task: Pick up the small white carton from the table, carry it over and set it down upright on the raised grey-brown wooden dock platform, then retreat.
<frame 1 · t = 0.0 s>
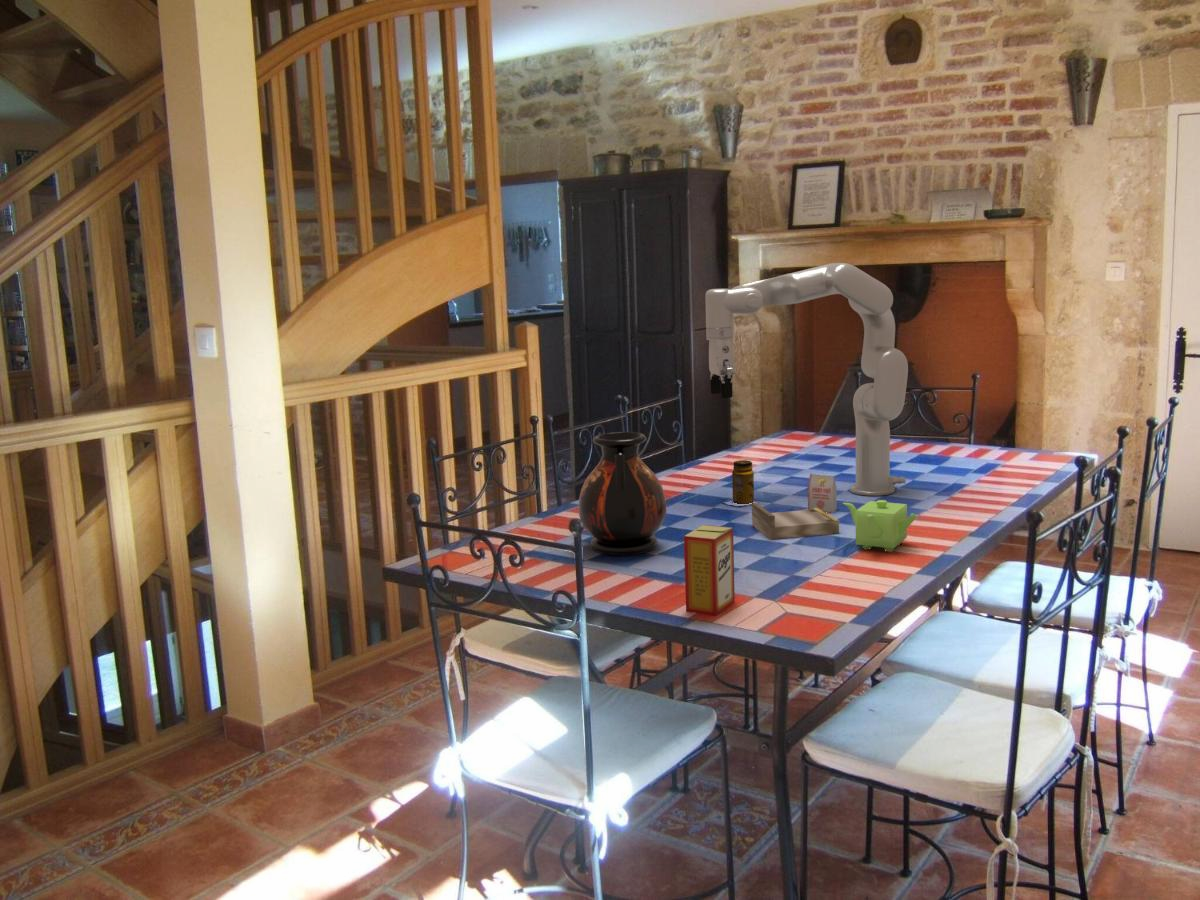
hand: (721, 395, 290), 31 cm above the table, tool pointing down, fingers open, 9 cm apart
kettle: (878, 547, 248), on the table
small white carton: (822, 511, 284), on the table
amphora vase: (624, 548, 257), on the table
dock: (794, 529, 266), on the table
condiment: (740, 504, 296), on the table
baking soda box: (710, 607, 211), on the table
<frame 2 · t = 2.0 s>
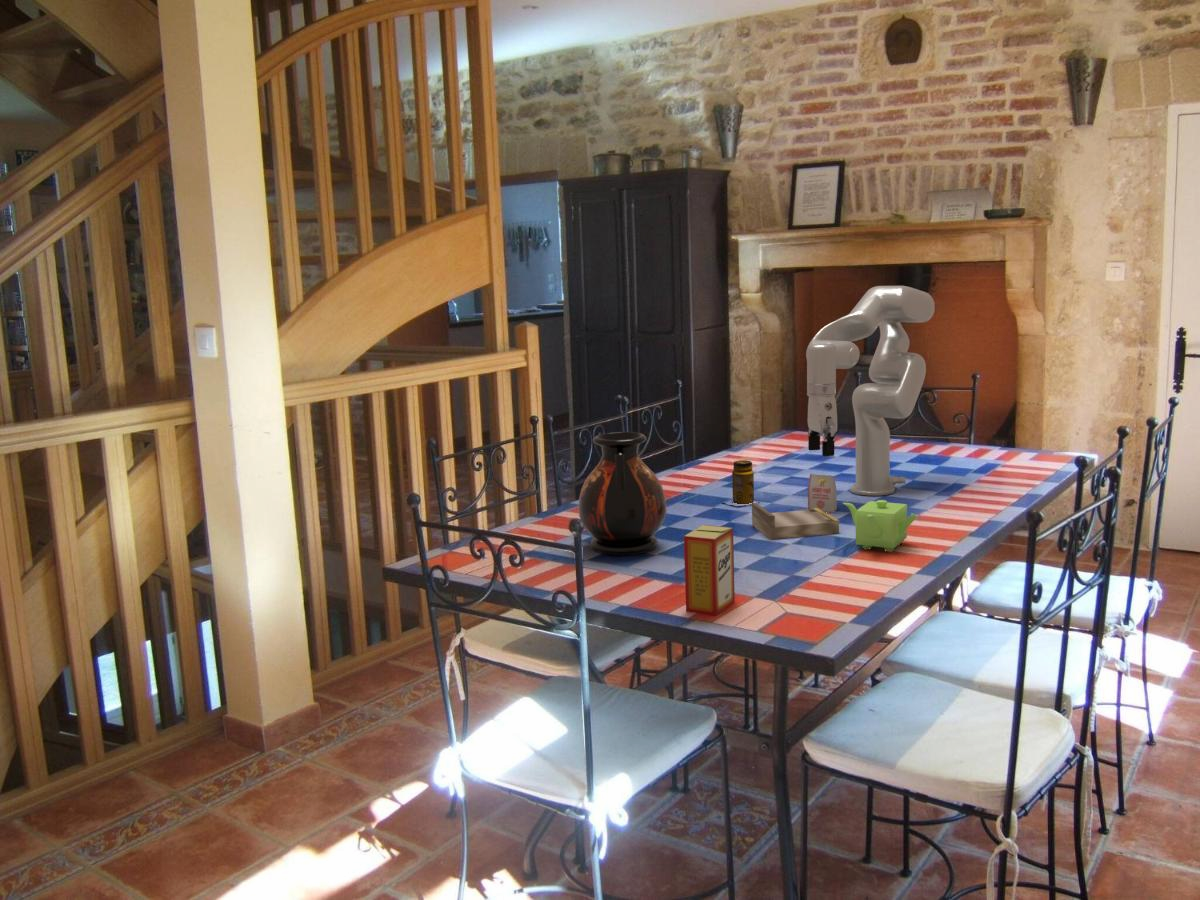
hand: (821, 452, 281), 16 cm above the table, tool pointing down, fingers open, 9 cm apart
nothing on the table moved.
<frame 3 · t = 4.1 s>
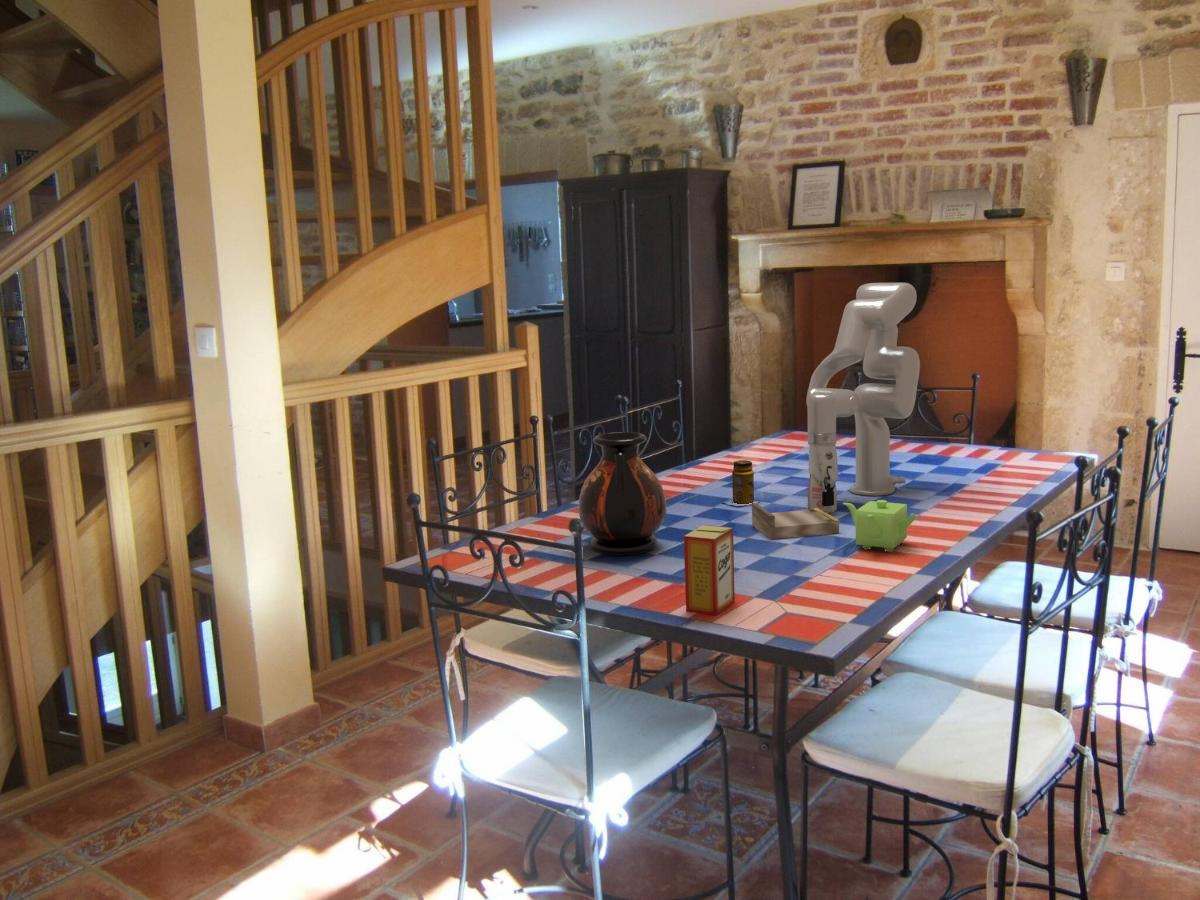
hand: (822, 502, 284), 2 cm above the table, tool pointing down, fingers closed on small white carton, 7 cm apart
small white carton: (822, 511, 284), on the table, touching gripper
everything else where it was.
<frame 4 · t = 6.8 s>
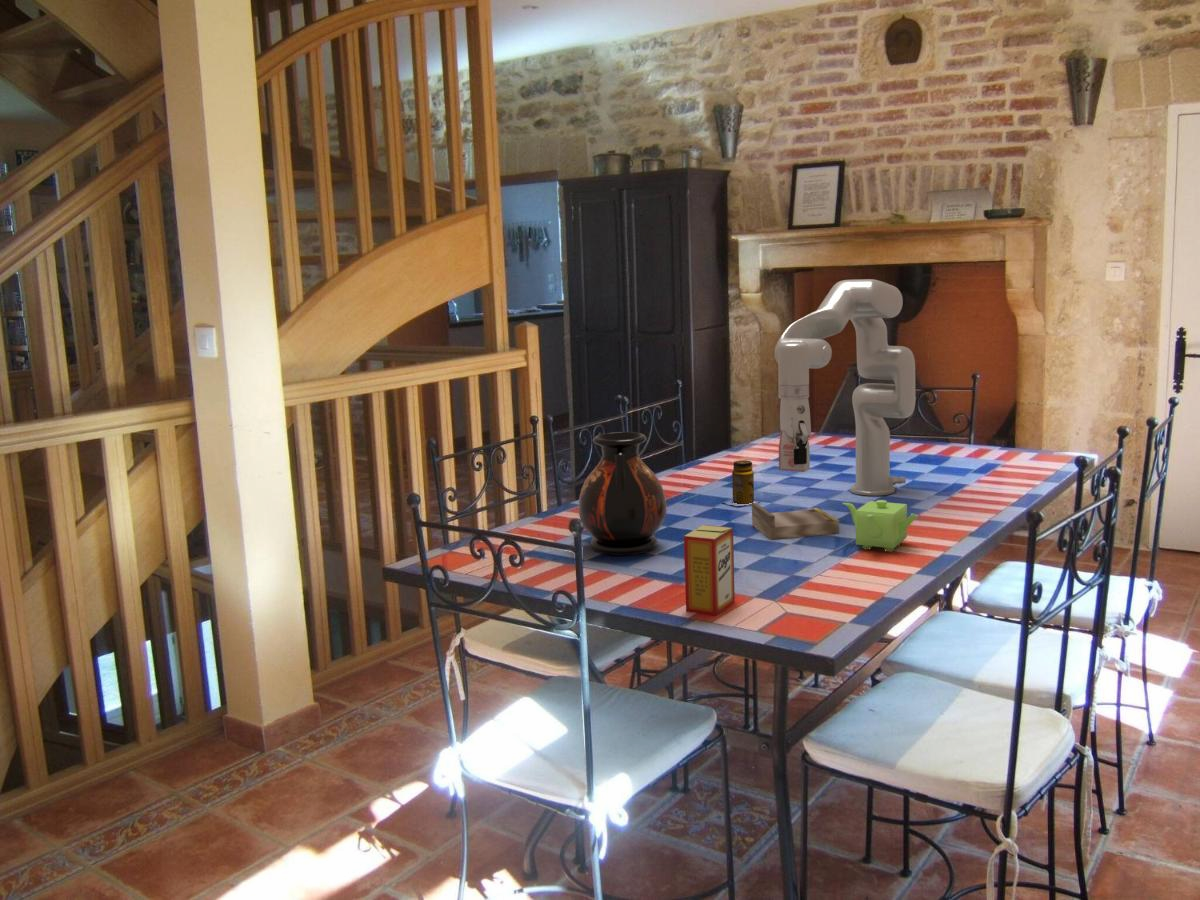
hand: (794, 460, 263), 18 cm above the table, tool pointing down, fingers closed on small white carton, 7 cm apart
small white carton: (794, 470, 264), point 15 cm above the table, touching gripper
everything else where it was.
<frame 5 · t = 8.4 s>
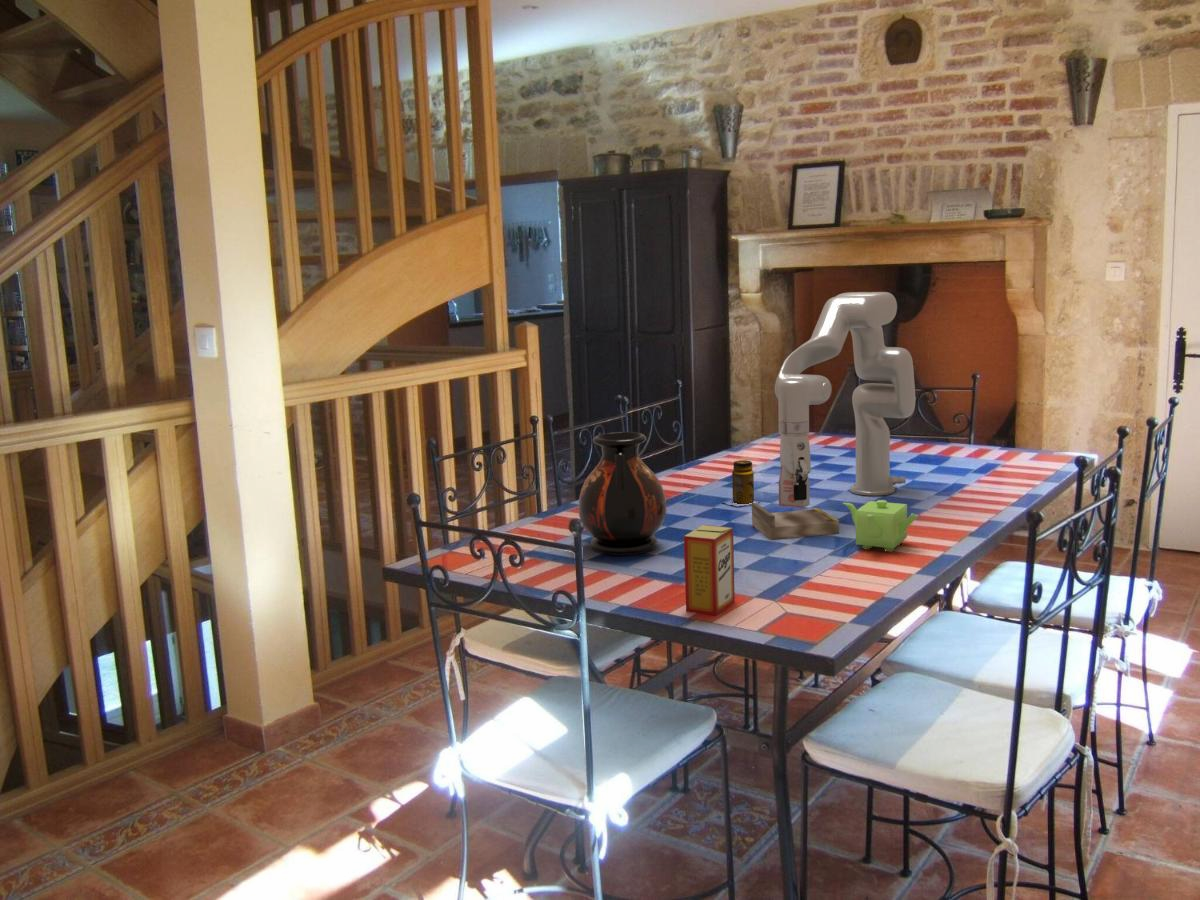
hand: (794, 496, 265), 9 cm above the table, tool pointing down, fingers closed on small white carton, 7 cm apart
small white carton: (794, 505, 265), point 6 cm above the table, touching gripper
everything else where it was.
when the fingers open (7 cm above the table, at t = 9.8 s): small white carton drops 1 cm, resting on dock.
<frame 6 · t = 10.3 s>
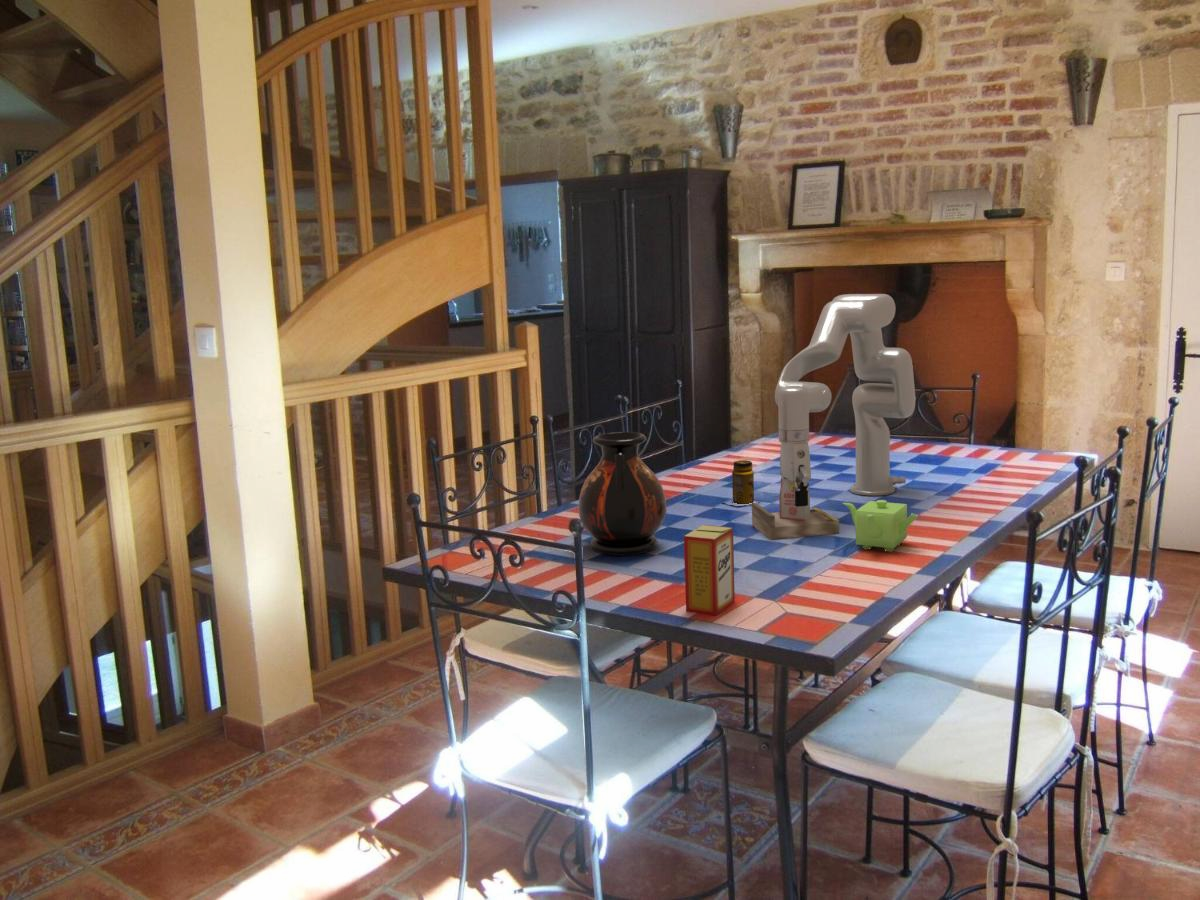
hand: (794, 501, 265), 7 cm above the table, tool pointing down, fingers open, 9 cm apart
small white carton: (794, 518, 266), point 3 cm above the table, touching dock
everything else where it was.
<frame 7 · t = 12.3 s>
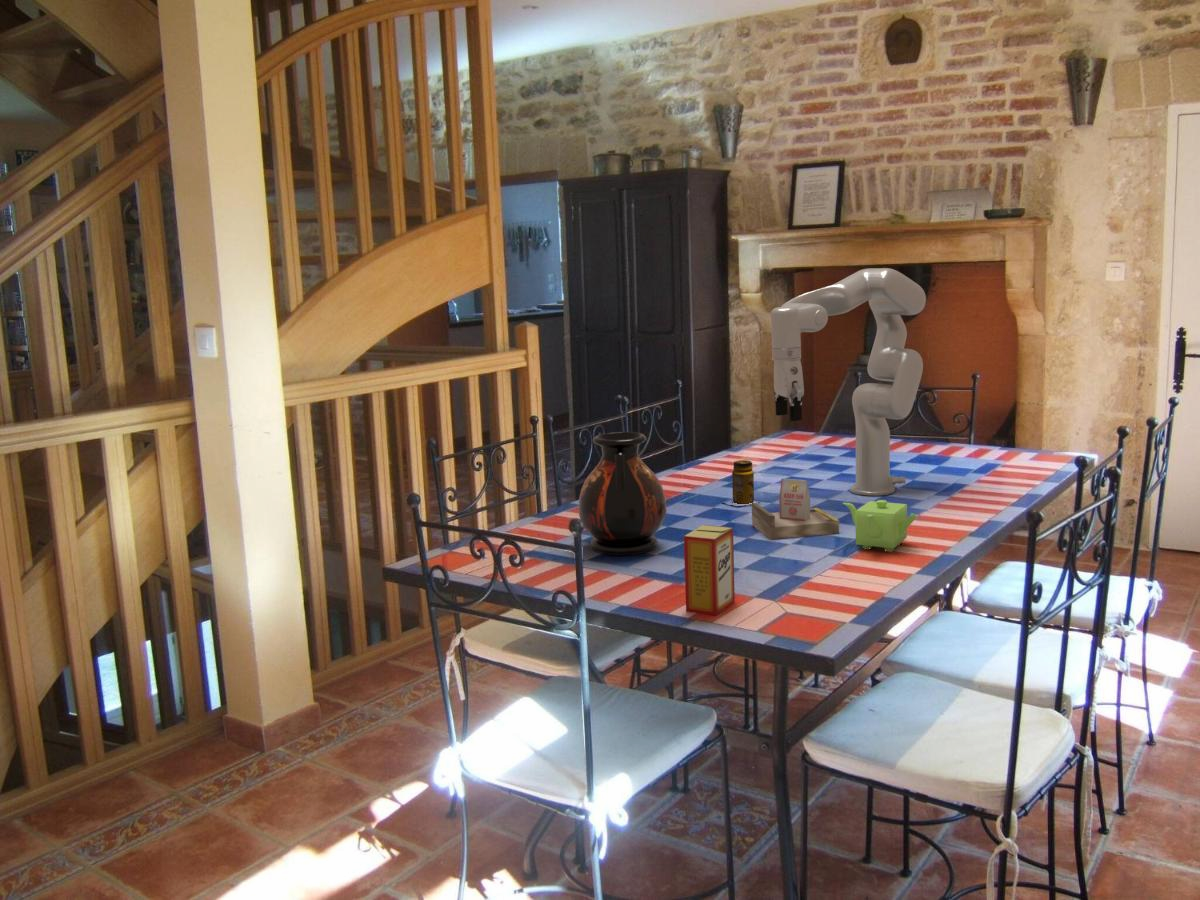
hand: (788, 417, 278), 26 cm above the table, tool pointing down, fingers open, 9 cm apart
nothing on the table moved.
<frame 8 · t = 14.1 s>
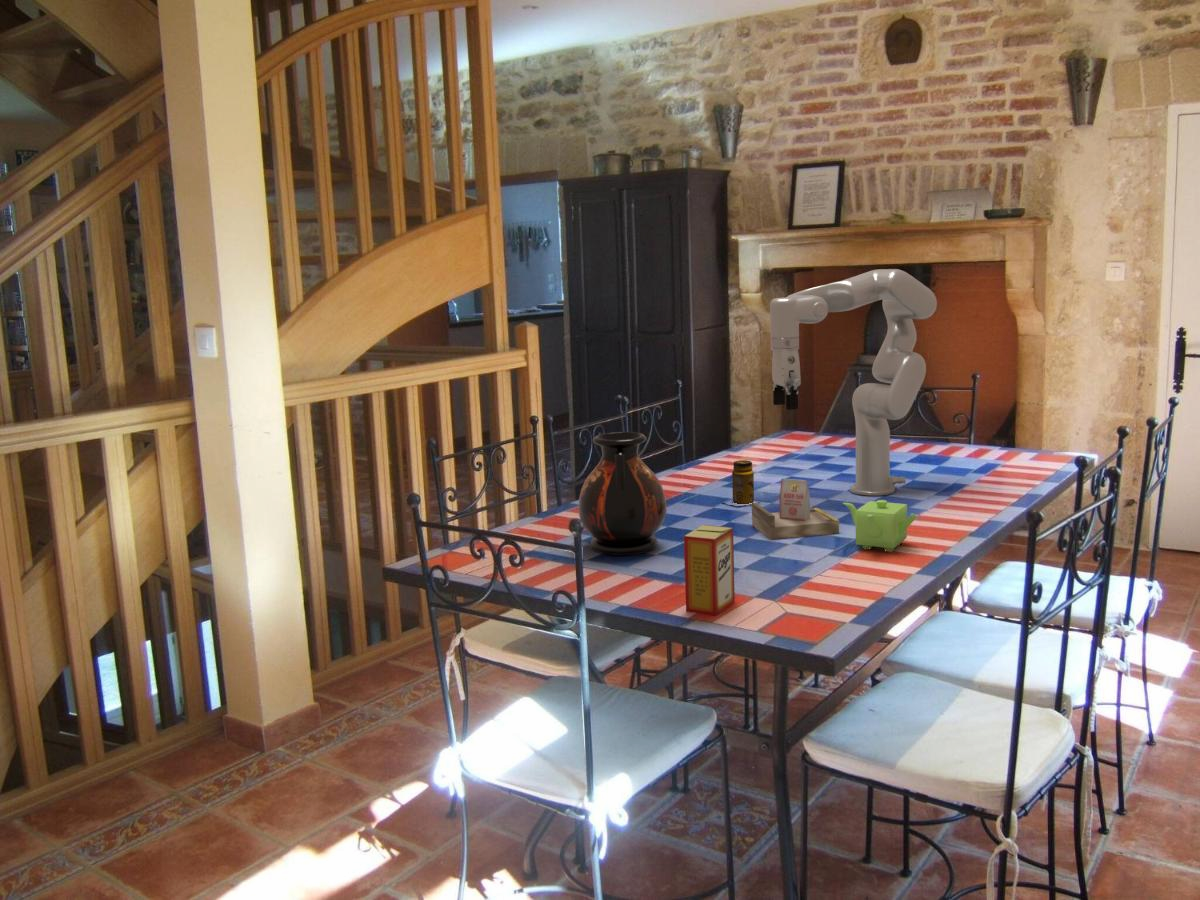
hand: (785, 406, 283), 28 cm above the table, tool pointing down, fingers open, 9 cm apart
nothing on the table moved.
at the end: small white carton inside the target area on the dock (0.1 cm from its centre), point 2.8 cm above the dock's base; small white carton tilted 0°; the gripper is holding nothing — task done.
